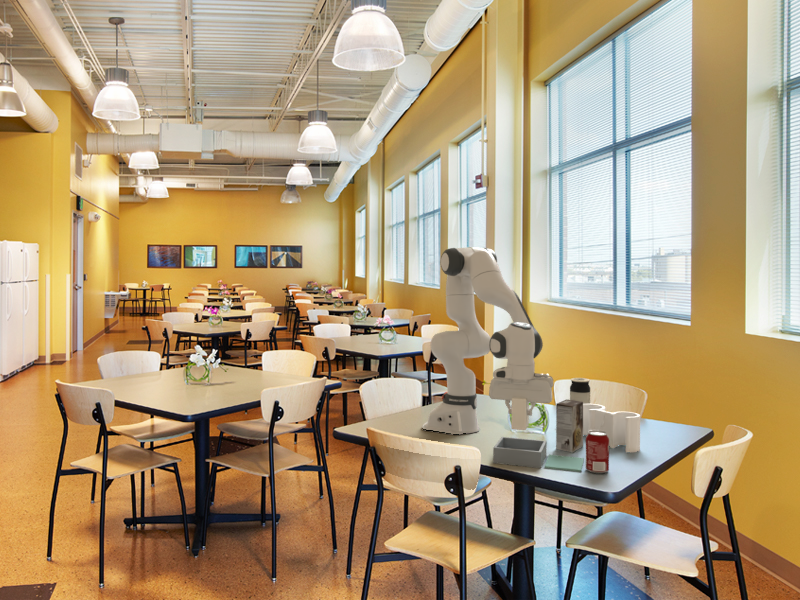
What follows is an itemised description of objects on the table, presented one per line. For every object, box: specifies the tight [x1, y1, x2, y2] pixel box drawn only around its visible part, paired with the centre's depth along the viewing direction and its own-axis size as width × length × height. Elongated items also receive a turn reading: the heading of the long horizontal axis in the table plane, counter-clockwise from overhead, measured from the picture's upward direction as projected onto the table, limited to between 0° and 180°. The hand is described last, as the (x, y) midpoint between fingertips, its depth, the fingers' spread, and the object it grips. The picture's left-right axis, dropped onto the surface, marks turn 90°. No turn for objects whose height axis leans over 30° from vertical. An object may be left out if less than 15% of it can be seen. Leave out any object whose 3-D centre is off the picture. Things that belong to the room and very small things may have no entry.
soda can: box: [585, 430, 610, 475], centre depth 181 cm, size 7×7×12 cm
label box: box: [510, 397, 530, 431], centre depth 193 cm, size 4×7×10 cm, turn 160°
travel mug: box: [569, 377, 591, 404], centre depth 242 cm, size 8×8×18 cm
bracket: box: [583, 403, 641, 453], centre depth 213 cm, size 25×10×12 cm, turn 32°
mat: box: [544, 454, 585, 473], centre depth 189 cm, size 11×13×1 cm
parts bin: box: [492, 436, 547, 469], centre depth 194 cm, size 15×14×5 cm
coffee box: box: [555, 399, 584, 453], centre depth 206 cm, size 9×6×16 cm
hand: (520, 414), depth 193 cm, fingers closed on label box, 5 cm apart
